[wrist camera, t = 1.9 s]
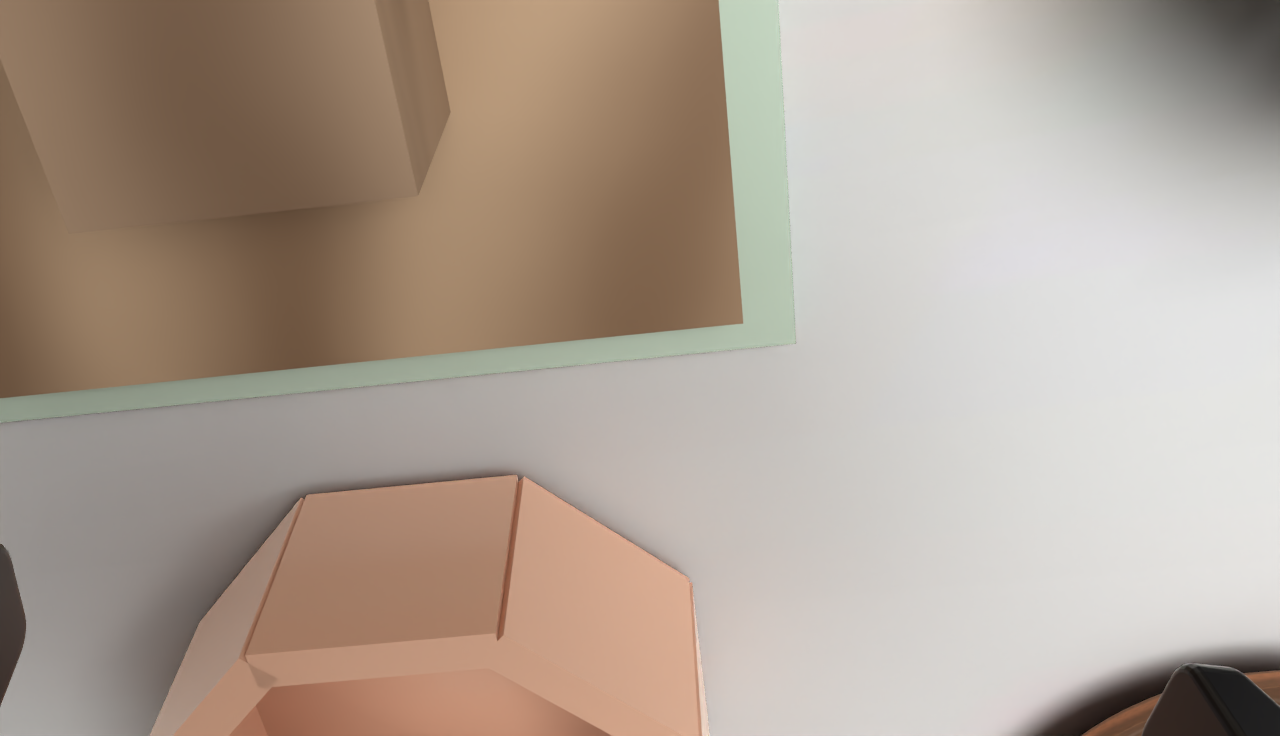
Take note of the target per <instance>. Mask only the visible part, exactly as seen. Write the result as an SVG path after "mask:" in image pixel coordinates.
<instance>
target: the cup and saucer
mask: <svg viewBox="0 0 1280 736" xmlns="http://www.w3.org/2000/svg"><path fill="white" fill-rule="evenodd" d="M1243 674H1244V675H1246V676H1247V677H1248V678H1249V679H1250V680H1251V681H1253V682H1254V683H1255V684H1256V685H1257V686H1258V687H1259V688H1260V689H1261V690H1262V691H1264V692H1265V693H1266V694H1267V695H1268V696H1269V697H1270V698H1271V699H1272V700H1274V701H1275V702H1276V703H1277V704H1278V705H1279V706H1280V671H1263V672H1252V673H1243ZM1160 696H1161V694H1159V695H1156V696H1154V697H1151V698H1149V699H1146V700H1144V701H1142V702H1139V703H1137V704H1135V705H1133V706H1130V707H1128V708H1126V709H1124V710H1122V711H1121V712H1119V713H1117V714H1115V715H1113V716H1111V717H1109V718H1107V719H1106V720H1104V721H1102V722H1101V723H1099V724H1098V725H1096V726H1094V727H1093V728H1091V729H1089V730H1088V731H1087V732H1085V733H1084V734H1082V735H1081V736H1141V735H1142V731H1143V728H1144V726H1145V724H1146V722H1147V720H1148V718H1149V716H1150V715H1151V713H1152V711H1153V709H1154V707H1155V705H1156V704H1157V702H1158V700H1159V698H1160Z"/></svg>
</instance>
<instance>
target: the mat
mask: <svg viewBox="0 0 1280 736" xmlns="http://www.w3.org/2000/svg"><path fill="white" fill-rule="evenodd" d="M719 12H720V25H721V38H722V51H723V64H724V77H725V90H726V103H727V116H728V129H729V142H730V155H731V168H732V181H733V194H734V207H735V220H736V233H737V246H738V259H739V272H740V285H741V298H742V312H743V324H734V325H724V326H714V327H704V328H694V329H684V330H675V331H665V332H655V333H645V334H635V335H625V336H615V337H605V338H595V339H585V340H575V341H565V342H555V343H546V344H536V345H526V346H516V347H506V348H496V349H486V350H476V351H466V352H456V353H446V354H436V355H426V356H416V357H407V358H397V359H387V360H377V361H367V362H357V363H347V364H337V365H327V366H317V367H307V368H297V369H287V370H278V371H268V372H258V373H248V374H238V375H228V376H218V377H208V378H198V379H188V380H178V381H168V382H158V383H149V384H139V385H129V386H119V387H109V388H99V389H89V390H79V391H69V392H59V393H49V394H39V395H29V396H19V397H10V398H0V423H4V422H14V421H24V420H34V419H44V418H54V417H64V416H74V415H84V414H94V413H104V412H114V411H124V410H134V409H144V408H155V407H165V406H175V405H185V404H195V403H205V402H215V401H225V400H235V399H245V398H255V397H265V396H275V395H285V394H295V393H305V392H315V391H325V390H335V389H345V388H355V387H365V386H375V385H385V384H395V383H405V382H415V381H425V380H435V379H446V378H456V377H466V376H476V375H486V374H496V373H506V372H516V371H526V370H536V369H546V368H556V367H566V366H576V365H586V364H596V363H606V362H616V361H626V360H636V359H646V358H656V357H666V356H676V355H686V354H696V353H706V352H716V351H726V350H736V349H747V348H757V347H767V346H777V345H787V344H796V336H795V316H794V297H793V278H792V258H791V239H790V219H789V200H788V180H787V161H786V141H785V122H784V102H783V83H782V64H781V44H780V25H779V5H778V0H719Z"/></svg>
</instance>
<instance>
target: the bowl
mask: <svg viewBox="0 0 1280 736" xmlns="http://www.w3.org/2000/svg"><path fill="white" fill-rule="evenodd" d="M149 736H709V723H708V714H707V706H706V697H705V689H704V680H703V671H702V663H701V654H700V646H699V637H698V629H697V620H696V612H695V603H694V595H693V586H692V583H689V578H688V577H686V576H685V575H683V574H682V573H680V572H678V571H677V570H675V569H673V568H672V567H670V566H669V565H667V564H665V563H664V562H662V561H661V560H659V559H657V558H656V557H654V556H652V555H651V554H649V553H648V552H646V551H644V550H643V549H641V548H639V547H638V546H636V545H635V544H633V543H631V542H630V541H628V540H627V539H625V538H623V537H622V536H620V535H618V534H617V533H615V532H614V531H612V530H610V529H609V528H607V527H605V526H604V525H602V524H601V523H599V522H597V521H596V520H594V519H593V518H591V517H589V516H588V515H586V514H584V513H583V512H581V511H580V510H578V509H576V508H575V507H573V506H571V505H570V504H568V503H567V502H565V501H563V500H562V499H560V498H559V497H557V496H555V495H554V494H552V493H550V492H549V491H547V490H546V489H544V488H542V487H541V486H539V485H537V484H536V483H534V482H533V481H531V480H529V479H528V478H526V477H525V476H524V477H523V478H522V479H521V480H520V481H518V476H517V475H508V476H497V477H487V478H476V479H466V480H455V481H445V482H434V483H424V484H413V485H403V486H392V487H382V488H371V489H361V490H350V491H340V492H329V493H319V494H308V495H306V497H305V499H303V498H300V499H299V500H298V502H297V503H296V504H295V505H294V507H293V508H292V509H291V510H290V511H289V513H288V514H287V515H286V516H285V518H284V519H283V520H282V521H281V523H280V524H279V525H278V526H277V527H276V529H275V530H274V531H273V532H272V534H271V535H270V536H269V537H268V539H267V540H266V541H265V542H264V543H263V545H262V546H261V547H260V548H259V550H258V551H257V552H256V553H255V555H254V556H253V557H252V558H251V559H250V561H249V562H248V563H247V564H246V566H245V567H244V568H243V569H242V570H241V572H240V573H239V574H238V575H237V577H236V578H235V579H234V580H233V582H232V583H231V584H230V585H229V586H228V588H227V589H226V590H225V591H224V593H223V594H222V595H221V596H220V598H219V599H218V600H217V601H216V602H215V604H214V605H213V606H212V607H211V609H210V610H209V611H208V612H207V614H206V615H205V616H204V617H203V618H202V620H201V621H200V622H199V624H198V627H197V629H196V631H195V633H194V636H193V638H192V640H191V642H190V645H189V647H188V649H187V652H186V654H185V656H184V658H183V661H182V663H181V665H180V667H179V670H178V672H177V674H176V676H175V679H174V681H173V683H172V685H171V688H170V690H169V692H168V695H167V697H166V699H165V701H164V704H163V706H162V708H161V710H160V713H159V715H158V717H157V719H156V722H155V724H154V726H153V728H152V731H151V733H150V735H149Z"/></svg>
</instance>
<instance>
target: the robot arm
mask: <svg viewBox="0 0 1280 736" xmlns="http://www.w3.org/2000/svg"><path fill="white" fill-rule="evenodd" d="M25 632H26V619H25V613H24V609H23V605H22V601H21V597H20V593H19V589H18V585H17V581H16V577H15V573H14V569H13V565H12V561H11V558H10V555H9V552H8V551H7V549H6V548H5V547H4V546H3V545H2V544H0V706H1V703H2V700H3V698H4V695H5V693H6V690H7V687H8V685H9V682H10V680H11V677H12V674H13V672H14V669H15V667H16V664H17V661H18V659H19V656H20V654H21V651H22V648H23V644H24V639H25ZM1141 736H1280V706H1279V705H1278V704H1277V703H1276V702H1275V701H1274V700H1272V699H1271V698H1270V697H1269V696H1268V695H1267V694H1266V693H1265V692H1264V691H1262V690H1261V689H1260V688H1259V687H1258V686H1257V685H1256V684H1255V683H1254V682H1253V681H1251V680H1250V679H1249V678H1248V677H1247V676H1246V675H1244V674H1243V673H1242V672H1240V671H1238V670H1237V669H1234V668H1231V667H1226V666H1217V665H1207V664H1197V663H1186V664H1183V665H1182V666H1180V667H1179V668H1177V669H1176V670H1175V671H1174V673H1173V674H1172V676H1171V678H1170V680H1169V682H1168V683H1167V685H1166V687H1165V689H1164V691H1163V693H1162V694H1161V696H1160V698H1159V700H1158V702H1157V704H1156V705H1155V707H1154V709H1153V711H1152V713H1151V715H1150V716H1149V718H1148V720H1147V722H1146V724H1145V726H1144V728H1143V731H1142V735H1141Z"/></svg>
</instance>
